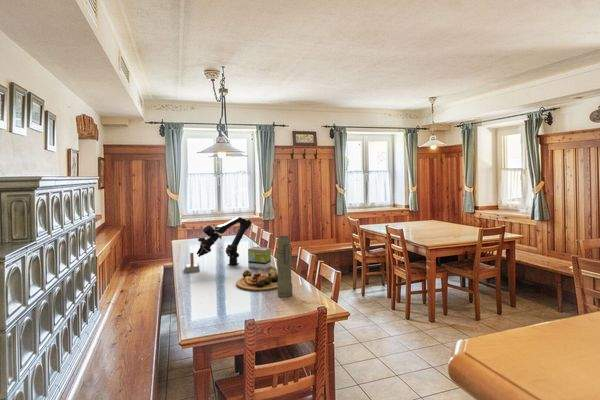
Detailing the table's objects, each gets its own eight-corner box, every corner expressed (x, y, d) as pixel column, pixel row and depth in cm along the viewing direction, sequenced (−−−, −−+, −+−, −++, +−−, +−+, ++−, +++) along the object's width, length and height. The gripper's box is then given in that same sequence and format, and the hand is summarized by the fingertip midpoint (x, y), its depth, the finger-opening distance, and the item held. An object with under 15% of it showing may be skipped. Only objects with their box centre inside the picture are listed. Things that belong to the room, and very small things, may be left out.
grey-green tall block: (287, 291, 228) (286, 234, 226) (295, 297, 218) (294, 237, 215) (274, 293, 225) (272, 235, 222) (281, 299, 214) (280, 238, 211)
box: (199, 271, 281) (199, 266, 280) (185, 272, 277) (185, 267, 277) (198, 267, 291) (198, 262, 291) (185, 268, 288) (184, 264, 288)
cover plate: (197, 267, 281) (197, 253, 280) (186, 268, 278) (186, 254, 278) (197, 264, 290) (196, 250, 290) (186, 265, 288) (185, 251, 287)
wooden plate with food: (227, 283, 249) (227, 271, 248) (268, 274, 268) (268, 263, 267) (251, 296, 223) (251, 283, 222) (295, 285, 242) (294, 273, 242)
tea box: (248, 267, 289) (247, 248, 288) (254, 264, 298) (253, 246, 297) (265, 269, 283) (265, 249, 282) (271, 266, 292) (271, 247, 291)
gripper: (202, 231, 292) (188, 246, 289) (206, 234, 275) (190, 250, 272) (213, 240, 296) (199, 255, 293) (217, 244, 279) (202, 260, 275)
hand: (197, 255), depth 283 cm, fingers open, 9 cm apart
